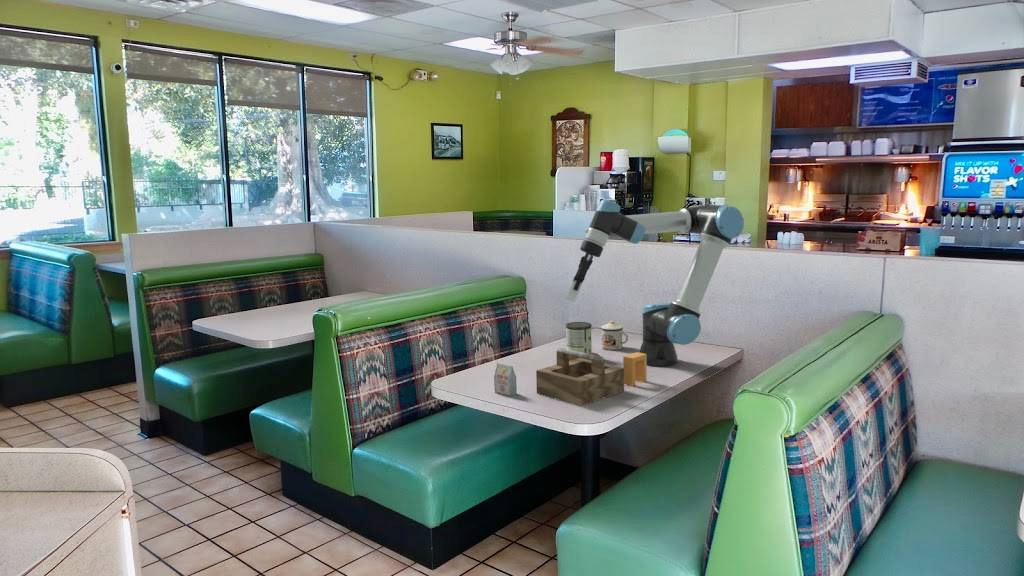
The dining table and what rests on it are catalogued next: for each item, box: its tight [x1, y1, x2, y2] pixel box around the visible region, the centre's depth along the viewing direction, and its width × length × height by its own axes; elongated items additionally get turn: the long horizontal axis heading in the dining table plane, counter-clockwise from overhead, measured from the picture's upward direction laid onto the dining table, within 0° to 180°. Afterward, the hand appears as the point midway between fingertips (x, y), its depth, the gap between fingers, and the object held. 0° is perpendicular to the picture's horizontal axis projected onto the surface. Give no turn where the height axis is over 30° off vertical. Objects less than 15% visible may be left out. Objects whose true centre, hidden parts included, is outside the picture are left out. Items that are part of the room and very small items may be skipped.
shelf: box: [535, 347, 625, 407], centre depth 238 cm, size 22×20×14 cm
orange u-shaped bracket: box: [622, 351, 648, 387], centre depth 247 cm, size 8×4×10 cm, turn 133°
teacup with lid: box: [601, 320, 629, 351], centre depth 297 cm, size 12×9×12 cm
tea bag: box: [493, 362, 518, 397], centre depth 239 cm, size 4×7×10 cm, turn 49°
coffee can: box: [565, 321, 593, 353], centre depth 282 cm, size 10×10×14 cm
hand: (570, 299), depth 244 cm, fingers open, 13 cm apart
